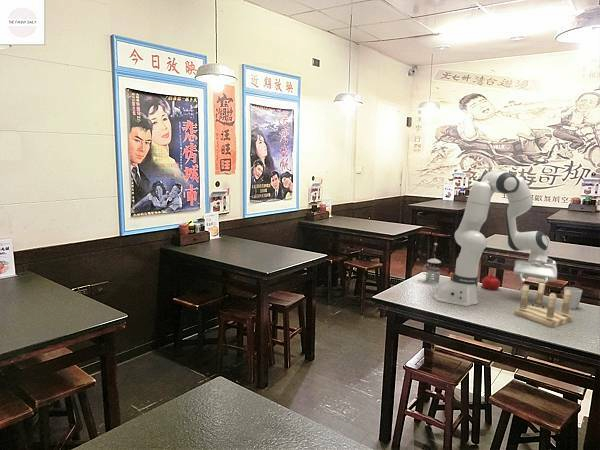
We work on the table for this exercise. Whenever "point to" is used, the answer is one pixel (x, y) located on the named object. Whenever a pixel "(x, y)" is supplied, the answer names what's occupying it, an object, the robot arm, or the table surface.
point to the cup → (574, 296)
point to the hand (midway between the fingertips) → (532, 283)
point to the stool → (545, 310)
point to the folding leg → (540, 292)
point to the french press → (433, 272)
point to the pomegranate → (490, 282)
